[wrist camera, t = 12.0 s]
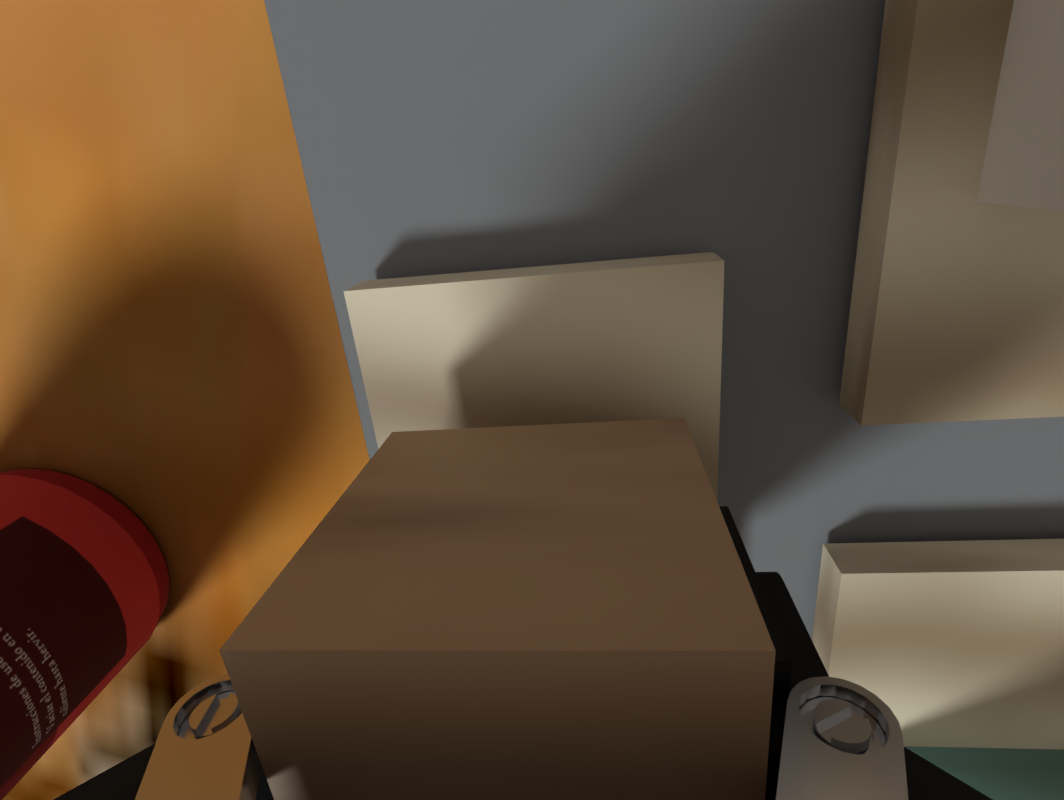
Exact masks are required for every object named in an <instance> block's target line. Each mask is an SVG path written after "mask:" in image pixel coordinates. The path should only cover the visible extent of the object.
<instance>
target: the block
mask: <svg viewBox="0 0 1064 800" xmlns="http://www.w3.org/2000/svg"><path fill="white" fill-rule="evenodd" d="M976 202H981V203H991V204H1001V205H1010V206H1020V207H1029V208H1039V209H1048V210H1058V211H1064V0H1014V2H1013V8H1012V13H1011V19H1010V24H1009V29H1008V35H1007V40H1006V45H1005V51H1004V56H1003V62H1002V67H1001V72H1000V78H999V83H998V88H997V94H996V99H995V104H994V110H993V115H992V121H991V126H990V131H989V137H988V142H987V147H986V153H985V158H984V164H983V169H982V174H981V180H980V185H979V190H978V196H977V201H976Z"/></svg>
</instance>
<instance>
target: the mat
mask: <svg viewBox="0 0 1064 800" xmlns="http://www.w3.org/2000/svg"><path fill="white" fill-rule="evenodd" d="M264 1H265V5H266V10H267V14H268V19H269V23H270V27H271V32H272V36H273V40H274V45H275V49H276V53H277V58H278V62H279V67H280V71H281V75H282V80H283V84H284V88H285V93H286V97H287V101H288V106H289V110H290V114H291V119H292V123H293V128H294V132H295V136H296V141H297V145H298V149H299V154H300V158H301V162H302V167H303V171H304V175H305V180H306V184H307V189H308V193H309V197H310V202H311V206H312V210H313V215H314V219H315V223H316V228H317V232H318V236H319V241H320V245H321V250H322V254H323V258H324V263H325V267H326V271H327V276H328V280H329V284H330V289H331V293H332V298H333V302H334V306H335V311H336V315H337V319H338V324H339V328H340V332H341V337H342V341H343V345H344V350H345V354H346V359H347V363H348V367H349V372H350V376H351V380H352V385H353V389H354V393H355V398H356V402H357V406H358V411H359V415H360V420H361V424H362V428H363V433H364V437H365V441H366V446H367V450H368V454H369V459H371V458H372V457H373V456H374V454H375V453H376V452H377V450H378V445H377V441H376V436H375V431H374V427H373V422H372V418H371V413H370V409H369V404H368V400H367V395H366V391H365V386H364V382H363V377H362V373H361V368H360V364H359V359H358V355H357V350H356V346H355V341H354V337H353V332H352V328H351V323H350V318H349V314H348V309H347V305H346V300H345V296H344V291H345V290H347V289H349V288H351V287H352V286H354V285H356V284H358V283H360V282H362V281H365V280H377V279H389V278H401V277H413V276H426V275H438V274H450V273H462V272H474V271H486V270H498V269H510V268H522V267H535V266H547V265H559V264H571V263H583V262H595V261H607V260H619V259H631V258H643V257H656V256H668V255H680V254H692V253H704V252H714V253H715V254H716V255H718V256H719V257H720V258H722V259H723V260H724V293H723V327H722V360H721V393H720V427H719V460H718V493H717V502H718V505H719V506H727V507H728V508H729V510H730V512H731V515H732V517H733V520H734V522H735V524H736V527H737V529H738V532H739V534H740V536H741V539H742V541H743V544H744V546H745V548H746V551H747V553H748V556H749V558H750V560H751V563H752V565H753V568H754V570H755V572H777V573H779V574H780V576H781V577H782V579H783V581H784V583H785V585H786V587H787V589H788V591H789V593H790V596H791V598H792V600H793V602H794V604H795V606H796V608H797V610H798V612H799V614H800V616H801V619H802V621H803V623H804V625H805V627H806V629H807V631H808V633H809V635H810V637H811V639H812V636H813V627H814V618H815V610H816V601H817V592H818V584H819V575H820V566H821V557H822V549H823V544H830V543H877V542H924V541H971V540H1018V539H1064V417H1043V418H1020V419H998V420H976V421H954V422H931V423H909V424H887V425H865V426H861V425H860V424H859V423H858V422H857V421H856V420H855V419H854V418H853V417H852V416H851V415H850V414H849V413H848V412H847V411H846V410H845V409H844V408H843V407H842V406H840V405H839V401H840V392H841V384H842V375H843V366H844V358H845V349H846V340H847V331H848V323H849V314H850V305H851V297H852V288H853V279H854V271H855V262H856V253H857V245H858V236H859V227H860V218H861V210H862V201H863V192H864V184H865V175H866V166H867V158H868V149H869V140H870V132H871V123H872V114H873V105H874V97H875V88H876V79H877V71H878V62H879V53H880V45H881V36H882V27H883V19H884V10H885V1H886V0H264Z"/></svg>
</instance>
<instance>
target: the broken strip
mask: <svg viewBox="0 0 1064 800" xmlns="http://www.w3.org/2000/svg"><path fill="white" fill-rule="evenodd" d="M1013 2H1014V0H886V1H885V10H884V19H883V27H882V36H881V45H880V53H879V62H878V71H877V79H876V88H875V97H874V105H873V114H872V123H871V132H870V140H869V149H868V158H867V166H866V175H865V184H864V192H863V201H862V210H861V218H860V227H859V236H858V245H857V253H856V262H855V271H854V279H853V288H852V297H851V305H850V314H849V323H848V331H847V340H846V349H845V358H844V366H843V375H842V384H841V392H840V401H839V405H840V406H842V407H843V408H844V409H845V410H846V411H847V412H848V413H849V414H850V415H851V416H852V417H853V418H854V419H855V420H856V421H857V422H858V423H859V424H860V425H861V426H865V425H887V424H909V423H931V422H954V421H976V420H998V419H1020V418H1043V417H1064V211H1058V210H1048V209H1039V208H1029V207H1020V206H1010V205H1001V204H991V203H981V202H976V201H977V196H978V190H979V185H980V180H981V174H982V169H983V164H984V158H985V153H986V147H987V142H988V137H989V131H990V126H991V121H992V115H993V110H994V104H995V99H996V94H997V88H998V83H999V78H1000V72H1001V67H1002V62H1003V56H1004V51H1005V45H1006V40H1007V35H1008V29H1009V24H1010V19H1011V13H1012V8H1013ZM812 642H813V644H814V646H815V648H816V650H817V652H818V654H819V656H820V658H821V660H822V663H823V665H824V667H825V669H826V671H827V673H828V675H829V677H834V678H840V679H844V680H847V681H850V682H852V683H855V684H858V685H860V686H862V687H864V688H865V689H867V690H869V691H870V692H872V693H873V694H875V695H876V696H878V697H879V698H880V699H881V700H882V701H883V702H884V703H885V704H886V705H887V706H888V707H889V708H890V709H891V711H892V712H893V714H894V715H895V716H896V718H897V719H898V721H899V724H900V728H901V731H902V734H903V744H904V747H906V748H907V749H909V750H911V751H912V752H914V753H916V754H917V755H919V756H921V757H922V758H924V759H926V760H927V761H929V762H931V763H932V764H934V765H936V766H937V767H939V768H941V769H942V770H944V771H946V772H947V773H949V774H951V775H952V776H954V777H956V778H957V779H959V780H961V781H963V782H964V783H966V784H968V785H969V786H971V787H973V788H974V789H976V790H978V791H979V792H981V793H983V794H984V795H986V796H988V797H989V798H991V799H993V800H1064V539H1018V540H971V541H924V542H877V543H830V544H823V549H822V557H821V566H820V575H819V584H818V592H817V601H816V610H815V618H814V627H813V636H812Z"/></svg>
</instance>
